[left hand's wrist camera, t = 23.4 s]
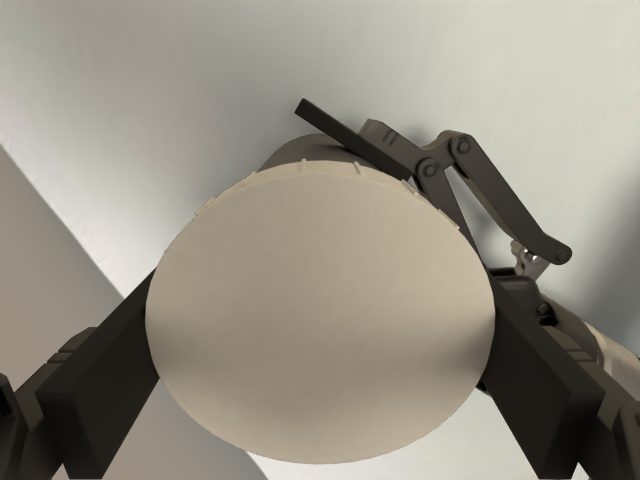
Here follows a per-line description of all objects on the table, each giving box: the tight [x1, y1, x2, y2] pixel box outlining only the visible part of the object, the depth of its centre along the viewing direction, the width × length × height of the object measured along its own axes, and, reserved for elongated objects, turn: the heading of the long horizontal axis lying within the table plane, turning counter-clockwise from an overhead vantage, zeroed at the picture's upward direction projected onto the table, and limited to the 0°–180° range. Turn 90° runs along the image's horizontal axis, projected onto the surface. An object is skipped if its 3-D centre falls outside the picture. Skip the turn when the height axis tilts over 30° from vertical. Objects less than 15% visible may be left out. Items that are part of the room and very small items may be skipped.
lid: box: [145, 159, 495, 464], centre depth 11 cm, size 11×11×2 cm
